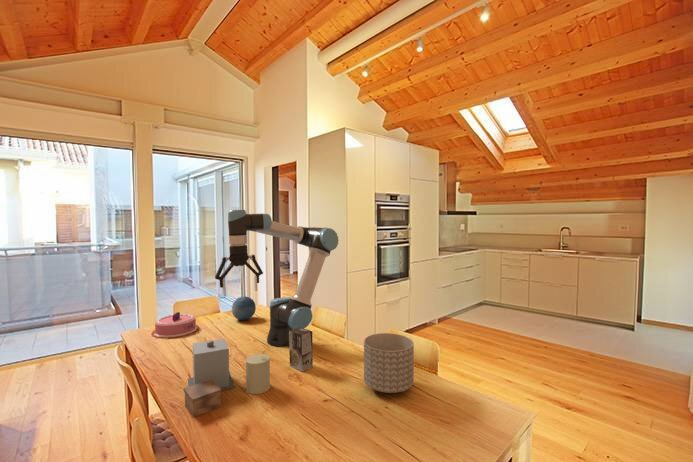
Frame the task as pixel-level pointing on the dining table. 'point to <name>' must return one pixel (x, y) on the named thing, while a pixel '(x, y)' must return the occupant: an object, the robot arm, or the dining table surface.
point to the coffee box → (300, 349)
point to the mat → (231, 385)
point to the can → (257, 373)
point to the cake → (175, 326)
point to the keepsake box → (202, 397)
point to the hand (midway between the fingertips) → (240, 292)
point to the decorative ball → (243, 308)
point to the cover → (211, 362)
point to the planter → (388, 362)
